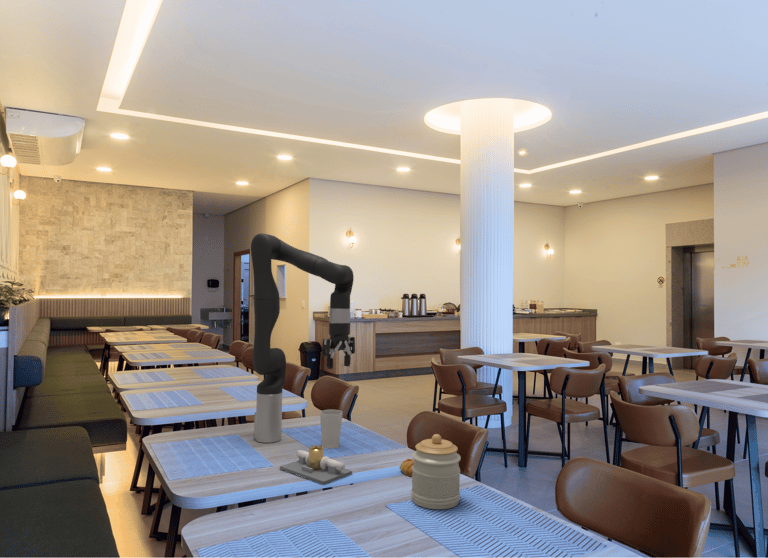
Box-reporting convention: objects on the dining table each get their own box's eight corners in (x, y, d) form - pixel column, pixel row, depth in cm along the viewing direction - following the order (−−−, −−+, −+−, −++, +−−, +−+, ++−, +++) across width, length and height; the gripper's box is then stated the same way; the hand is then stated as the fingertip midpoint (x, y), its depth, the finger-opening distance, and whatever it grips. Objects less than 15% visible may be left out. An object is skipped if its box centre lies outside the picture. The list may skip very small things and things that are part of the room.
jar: (403, 494, 147) (404, 430, 147) (444, 488, 152) (445, 426, 152) (425, 513, 135) (426, 443, 135) (469, 506, 140) (470, 438, 140)
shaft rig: (279, 469, 165) (280, 452, 165) (308, 460, 174) (309, 444, 174) (323, 484, 153) (324, 467, 153) (352, 474, 162) (352, 457, 162)
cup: (343, 443, 194) (344, 410, 194) (339, 450, 186) (340, 415, 186) (321, 442, 195) (322, 409, 195) (316, 448, 187) (317, 414, 187)
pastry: (433, 477, 161) (433, 464, 162) (415, 481, 158) (415, 468, 158) (414, 468, 169) (414, 456, 169) (397, 472, 166) (397, 459, 166)
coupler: (305, 468, 163) (306, 446, 163) (316, 465, 167) (316, 443, 167) (315, 471, 160) (315, 449, 161) (326, 468, 164) (326, 446, 164)
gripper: (345, 320, 197) (344, 364, 197) (317, 321, 186) (316, 368, 186) (361, 321, 192) (360, 366, 192) (333, 322, 181) (331, 370, 181)
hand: (338, 367), depth 189 cm, fingers open, 8 cm apart
